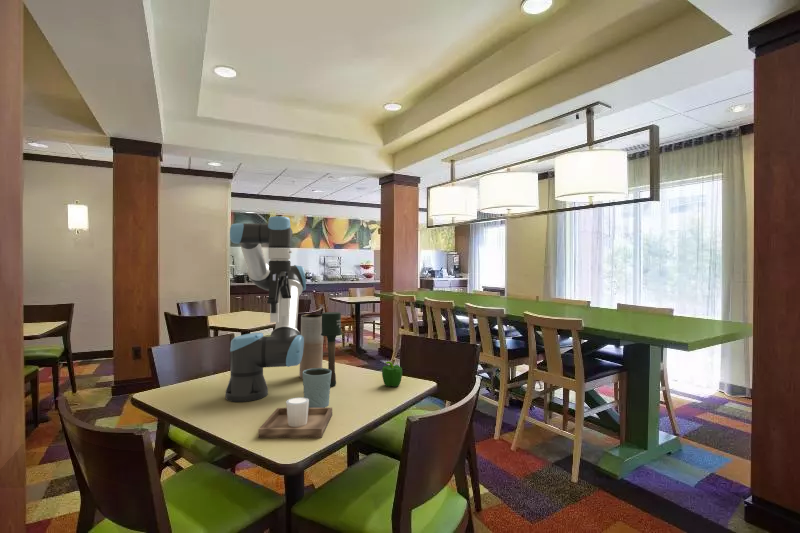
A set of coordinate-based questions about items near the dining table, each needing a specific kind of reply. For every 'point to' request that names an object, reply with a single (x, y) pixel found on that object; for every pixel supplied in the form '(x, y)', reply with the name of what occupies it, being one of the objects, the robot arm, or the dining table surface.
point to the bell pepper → (391, 374)
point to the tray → (280, 429)
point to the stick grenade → (331, 338)
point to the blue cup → (317, 386)
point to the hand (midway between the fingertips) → (280, 319)
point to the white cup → (297, 411)
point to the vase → (311, 342)
